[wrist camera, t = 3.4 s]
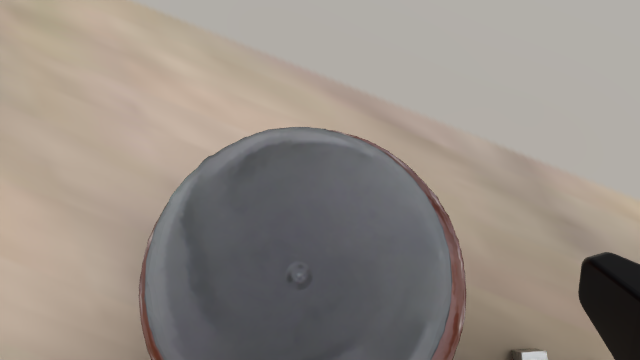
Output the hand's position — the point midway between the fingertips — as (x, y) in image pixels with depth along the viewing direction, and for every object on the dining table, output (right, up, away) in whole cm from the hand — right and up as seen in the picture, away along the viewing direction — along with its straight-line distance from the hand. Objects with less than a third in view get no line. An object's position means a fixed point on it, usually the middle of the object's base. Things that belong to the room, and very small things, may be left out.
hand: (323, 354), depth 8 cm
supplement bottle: (0, -1, +9) cm, 9 cm away
